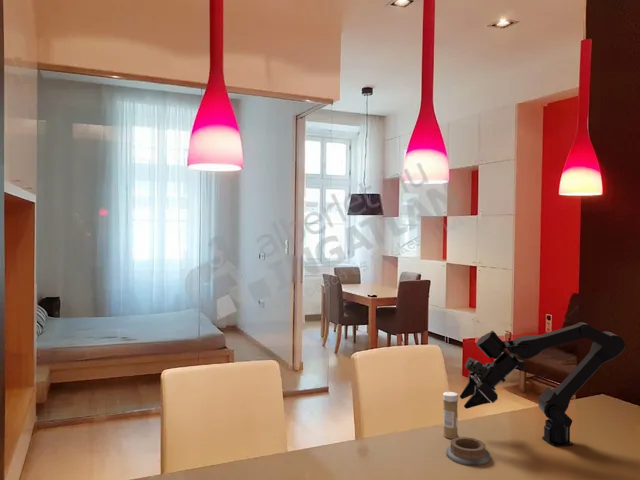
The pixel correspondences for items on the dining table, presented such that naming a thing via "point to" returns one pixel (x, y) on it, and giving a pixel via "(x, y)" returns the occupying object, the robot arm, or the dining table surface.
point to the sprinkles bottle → (450, 415)
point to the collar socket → (468, 451)
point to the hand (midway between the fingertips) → (462, 402)
